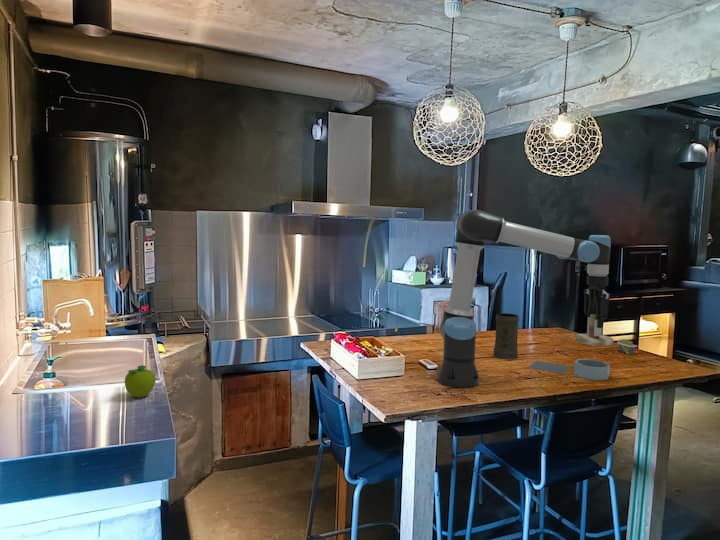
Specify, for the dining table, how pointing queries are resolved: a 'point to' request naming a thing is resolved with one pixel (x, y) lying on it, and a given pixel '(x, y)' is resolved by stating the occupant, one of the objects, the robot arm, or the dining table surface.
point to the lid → (591, 338)
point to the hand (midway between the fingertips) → (594, 334)
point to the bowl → (591, 369)
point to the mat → (549, 367)
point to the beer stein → (506, 336)
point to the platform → (626, 346)
